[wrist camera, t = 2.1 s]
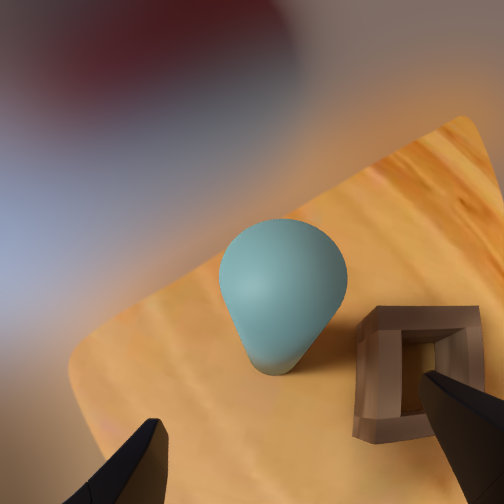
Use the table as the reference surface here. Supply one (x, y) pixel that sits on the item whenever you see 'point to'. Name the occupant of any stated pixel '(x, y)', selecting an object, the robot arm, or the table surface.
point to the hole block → (390, 364)
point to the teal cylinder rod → (281, 290)
